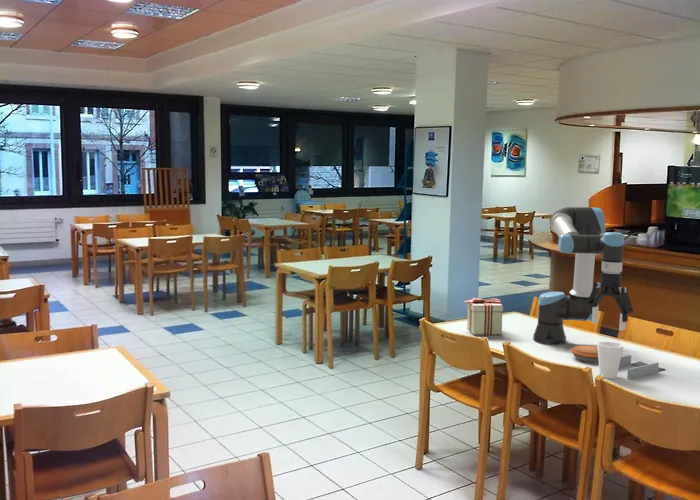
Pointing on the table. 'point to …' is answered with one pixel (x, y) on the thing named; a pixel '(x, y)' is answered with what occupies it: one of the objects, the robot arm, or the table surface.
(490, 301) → the gift box
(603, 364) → the foam cup
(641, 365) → the trap mat
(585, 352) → the pie
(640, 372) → the channel
